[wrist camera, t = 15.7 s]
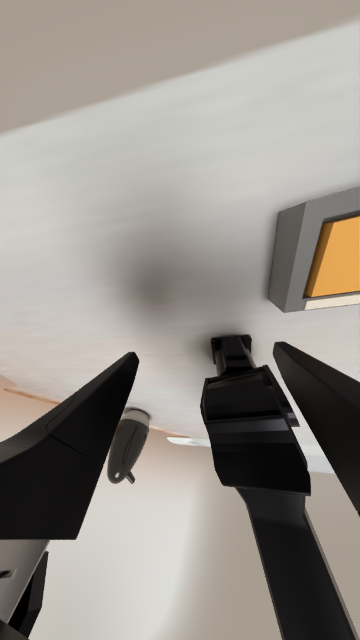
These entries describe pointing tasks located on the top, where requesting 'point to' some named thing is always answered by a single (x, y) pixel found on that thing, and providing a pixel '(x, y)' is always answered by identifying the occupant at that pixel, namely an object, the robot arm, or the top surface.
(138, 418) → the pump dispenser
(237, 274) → the top surface
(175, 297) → the top surface
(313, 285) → the button
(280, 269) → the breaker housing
